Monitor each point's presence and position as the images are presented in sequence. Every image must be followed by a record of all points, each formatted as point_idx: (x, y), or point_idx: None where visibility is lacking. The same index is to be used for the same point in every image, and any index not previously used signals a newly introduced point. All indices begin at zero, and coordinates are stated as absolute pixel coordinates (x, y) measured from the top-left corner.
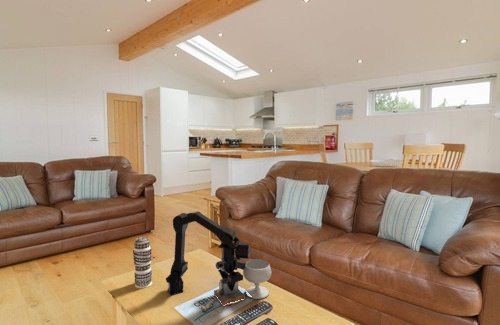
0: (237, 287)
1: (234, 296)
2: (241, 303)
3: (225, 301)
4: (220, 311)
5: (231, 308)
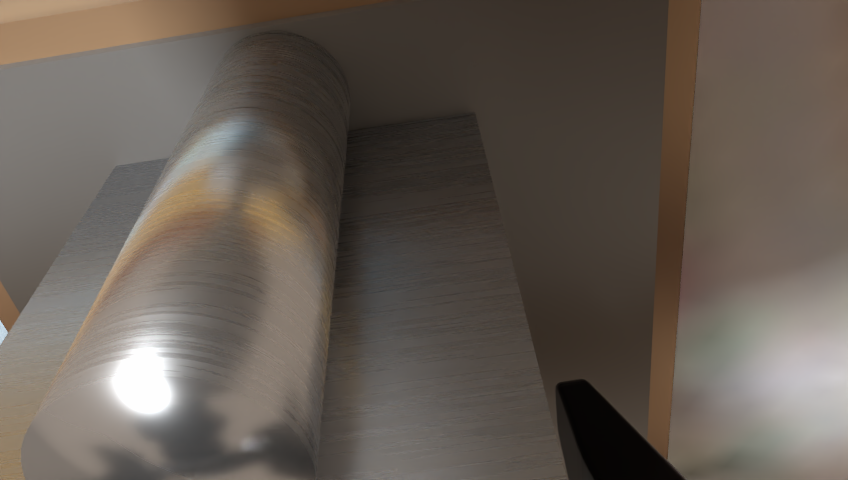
0: (500, 218)
1: (627, 249)
2: (739, 23)
3: (665, 431)
4: (730, 443)
5: (771, 279)
